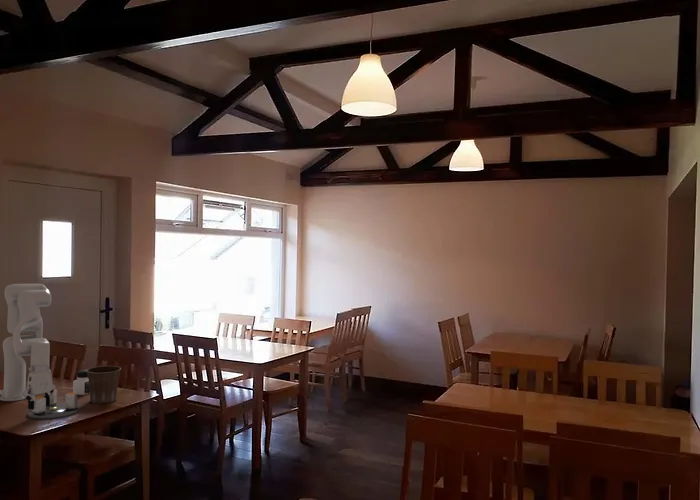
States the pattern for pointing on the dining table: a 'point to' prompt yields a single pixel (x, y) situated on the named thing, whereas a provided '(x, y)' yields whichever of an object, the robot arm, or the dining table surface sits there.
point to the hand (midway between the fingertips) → (38, 406)
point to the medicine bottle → (81, 383)
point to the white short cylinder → (71, 401)
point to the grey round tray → (53, 412)
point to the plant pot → (103, 383)
